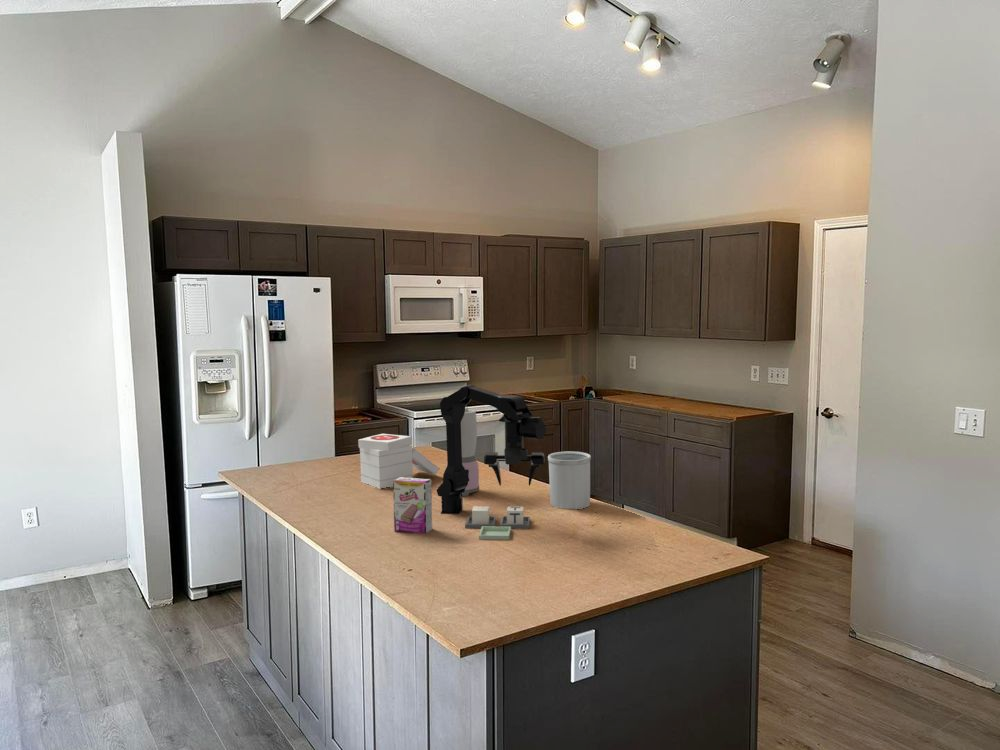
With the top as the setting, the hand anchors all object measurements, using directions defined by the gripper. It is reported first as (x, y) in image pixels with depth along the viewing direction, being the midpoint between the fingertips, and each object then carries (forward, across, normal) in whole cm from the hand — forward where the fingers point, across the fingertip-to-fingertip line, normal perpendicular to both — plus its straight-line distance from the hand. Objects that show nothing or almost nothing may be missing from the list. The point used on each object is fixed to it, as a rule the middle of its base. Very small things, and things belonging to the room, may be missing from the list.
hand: (514, 485), depth 235 cm
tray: (+13, -6, -11) cm, 18 cm away
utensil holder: (+13, +18, +24) cm, 33 cm away
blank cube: (+13, -11, 0) cm, 17 cm away
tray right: (+13, 0, 0) cm, 13 cm away
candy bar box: (+13, -32, -6) cm, 35 cm away
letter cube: (+13, 0, 0) cm, 13 cm away
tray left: (+13, -11, 0) cm, 17 cm away
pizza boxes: (+13, -50, +60) cm, 79 cm away
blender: (+13, -22, +40) cm, 47 cm away
